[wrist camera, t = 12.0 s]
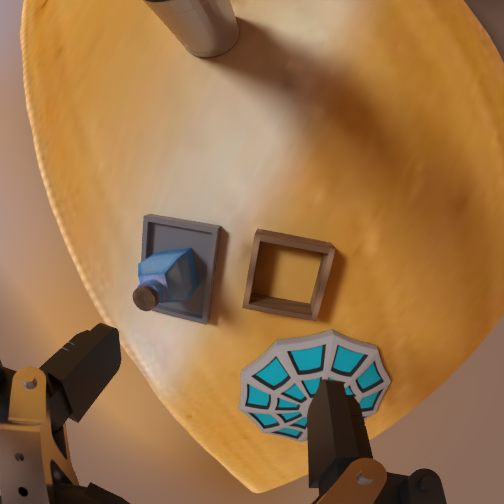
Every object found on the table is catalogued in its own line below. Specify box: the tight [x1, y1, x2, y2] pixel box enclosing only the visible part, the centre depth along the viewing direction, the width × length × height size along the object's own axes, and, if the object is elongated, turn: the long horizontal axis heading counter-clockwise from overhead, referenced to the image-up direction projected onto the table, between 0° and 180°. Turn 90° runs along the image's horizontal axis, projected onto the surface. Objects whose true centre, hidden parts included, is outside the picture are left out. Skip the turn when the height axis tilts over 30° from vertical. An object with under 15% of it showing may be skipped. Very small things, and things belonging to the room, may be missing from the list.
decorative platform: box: [238, 330, 391, 442], centre depth 46 cm, size 31×29×5 cm
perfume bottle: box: [133, 248, 199, 311], centre depth 37 cm, size 6×6×12 cm
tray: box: [141, 214, 221, 324], centre depth 43 cm, size 16×12×2 cm
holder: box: [242, 229, 336, 321], centre depth 40 cm, size 11×11×4 cm
